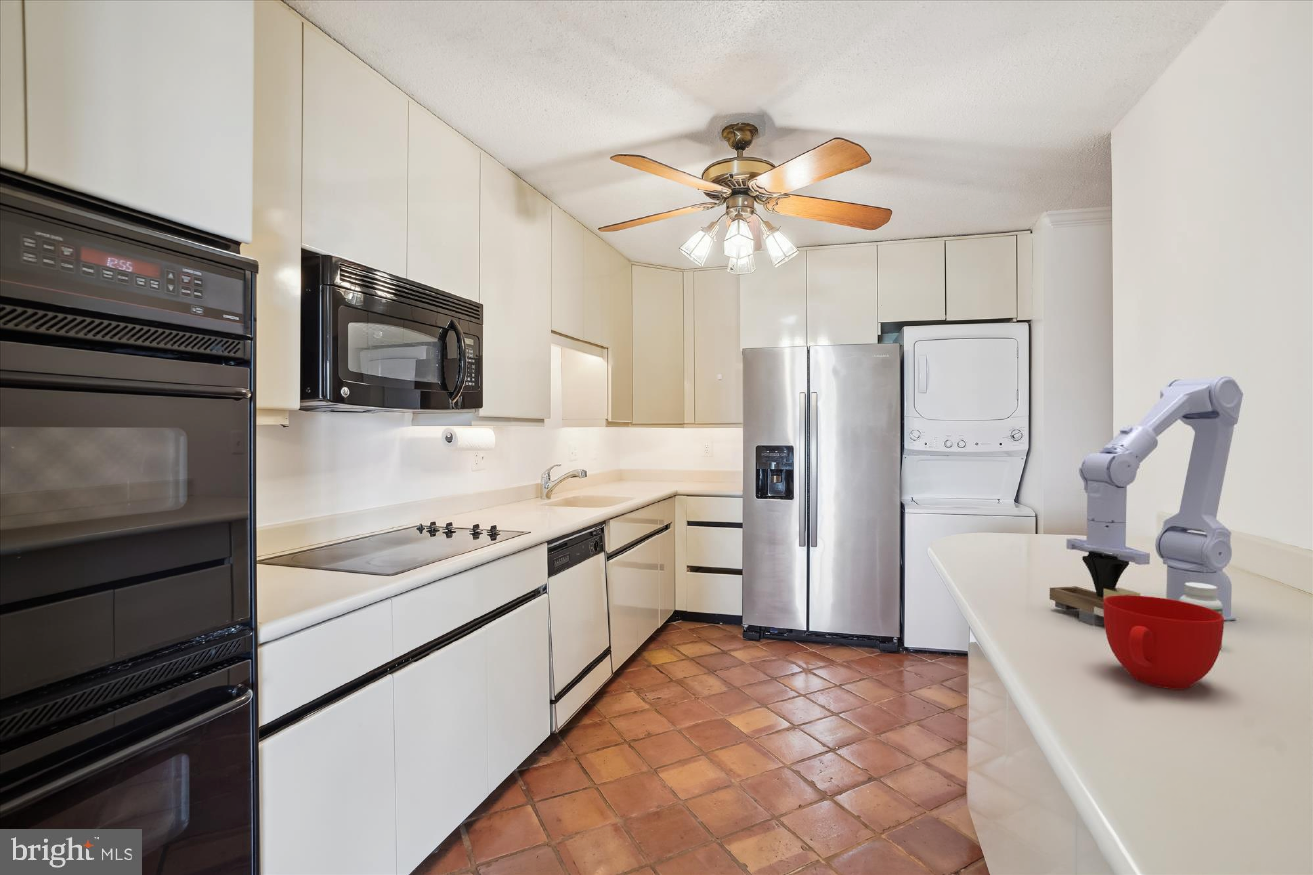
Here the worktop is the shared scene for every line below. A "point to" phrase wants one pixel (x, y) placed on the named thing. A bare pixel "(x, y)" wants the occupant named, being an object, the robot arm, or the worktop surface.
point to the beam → (1079, 603)
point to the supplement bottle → (1202, 596)
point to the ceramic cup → (1163, 639)
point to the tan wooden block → (1118, 592)
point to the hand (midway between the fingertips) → (1104, 596)
